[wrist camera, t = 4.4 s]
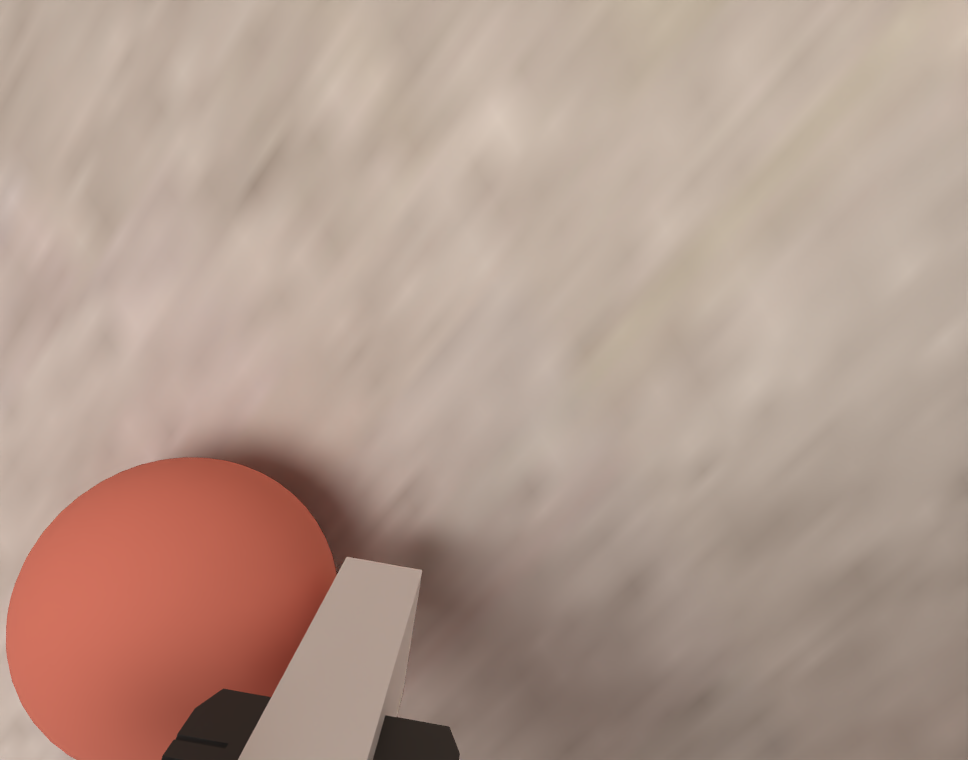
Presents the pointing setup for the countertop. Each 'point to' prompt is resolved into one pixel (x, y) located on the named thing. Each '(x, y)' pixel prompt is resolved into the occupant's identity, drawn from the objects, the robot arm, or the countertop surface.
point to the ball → (161, 603)
